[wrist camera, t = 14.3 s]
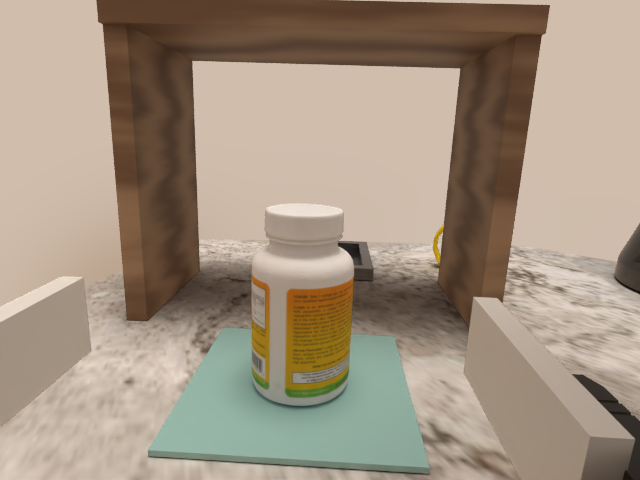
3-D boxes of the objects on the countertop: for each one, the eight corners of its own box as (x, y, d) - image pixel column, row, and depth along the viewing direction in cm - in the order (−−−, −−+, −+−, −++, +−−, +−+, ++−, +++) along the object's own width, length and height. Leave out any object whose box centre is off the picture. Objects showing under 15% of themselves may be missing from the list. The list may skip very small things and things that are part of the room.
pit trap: (372, 280, 41) (373, 268, 41) (262, 275, 42) (262, 263, 41) (365, 251, 52) (366, 242, 52) (277, 247, 52) (278, 238, 52)
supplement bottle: (361, 369, 25) (372, 207, 23) (324, 422, 20) (333, 223, 18) (282, 348, 27) (284, 198, 25) (231, 391, 22) (229, 210, 20)
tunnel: (499, 342, 29) (549, 5, 24) (123, 322, 30) (96, -6, 25) (451, 280, 42) (478, 50, 37) (186, 268, 43) (177, 42, 38)
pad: (429, 473, 18) (430, 467, 18) (148, 456, 18) (148, 450, 18) (393, 340, 29) (393, 336, 29) (223, 331, 30) (223, 327, 30)
